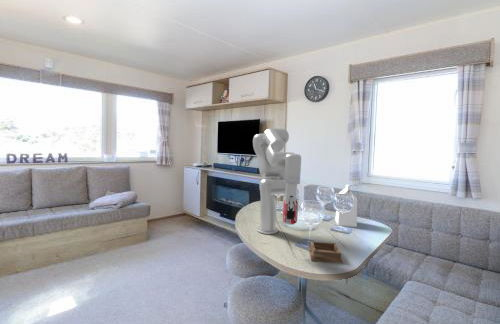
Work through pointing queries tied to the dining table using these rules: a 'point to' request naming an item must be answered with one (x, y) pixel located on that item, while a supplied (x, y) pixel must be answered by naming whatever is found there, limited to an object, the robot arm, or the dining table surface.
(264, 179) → the robot arm
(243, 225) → the dining table surface
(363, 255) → the dining table surface
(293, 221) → the soda can
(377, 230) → the dining table surface
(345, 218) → the milk
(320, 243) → the brown wooden tray
